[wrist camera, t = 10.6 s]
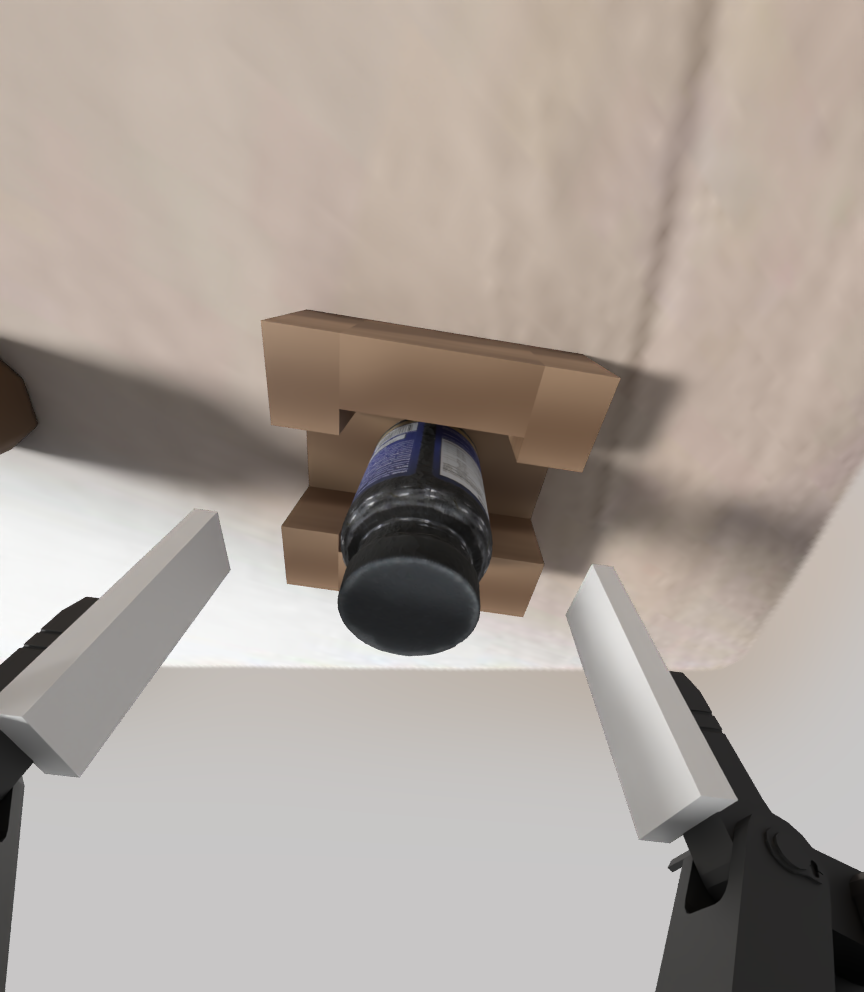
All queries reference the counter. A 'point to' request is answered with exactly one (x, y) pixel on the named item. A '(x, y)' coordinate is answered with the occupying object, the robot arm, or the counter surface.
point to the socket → (432, 399)
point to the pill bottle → (416, 542)
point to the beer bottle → (14, 409)
